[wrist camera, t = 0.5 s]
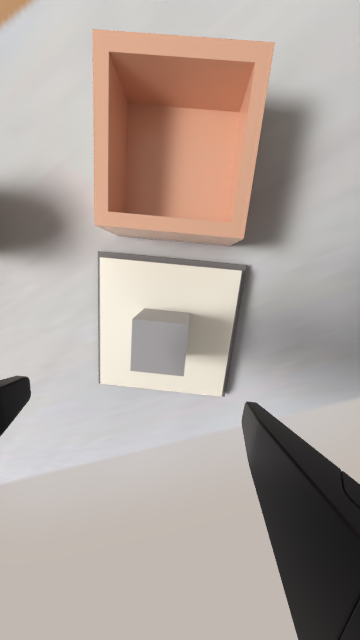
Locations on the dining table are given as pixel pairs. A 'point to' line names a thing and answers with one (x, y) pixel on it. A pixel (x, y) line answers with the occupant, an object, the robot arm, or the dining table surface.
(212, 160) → the dish
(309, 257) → the dining table surface
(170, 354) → the lid
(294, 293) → the dining table surface
